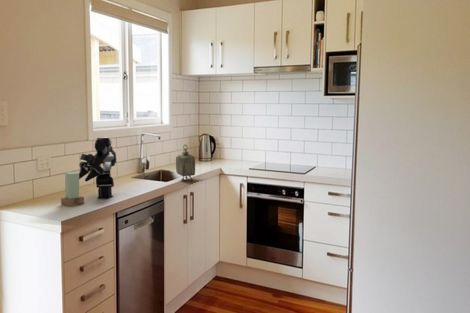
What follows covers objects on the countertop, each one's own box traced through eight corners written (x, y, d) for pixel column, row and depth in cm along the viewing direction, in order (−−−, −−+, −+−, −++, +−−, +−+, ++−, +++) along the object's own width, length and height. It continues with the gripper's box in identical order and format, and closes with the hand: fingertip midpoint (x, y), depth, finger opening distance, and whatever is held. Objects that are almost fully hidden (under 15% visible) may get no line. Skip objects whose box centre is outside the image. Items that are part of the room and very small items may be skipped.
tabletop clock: (195, 181, 272) (194, 145, 269) (183, 182, 268) (182, 145, 264) (187, 178, 284) (187, 143, 281) (175, 179, 280) (175, 144, 277)
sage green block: (75, 195, 212) (75, 171, 210) (79, 197, 208) (79, 173, 207) (65, 196, 208) (65, 172, 207) (69, 198, 205) (69, 174, 203)
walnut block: (74, 202, 214) (74, 195, 214) (84, 204, 210) (83, 196, 210) (61, 205, 208) (60, 198, 207) (71, 207, 204) (70, 199, 203)
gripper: (81, 147, 220) (62, 169, 214) (97, 149, 207) (78, 172, 201) (95, 159, 227) (78, 181, 220) (112, 162, 214) (93, 185, 207)
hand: (81, 180), depth 212 cm, fingers open, 9 cm apart
